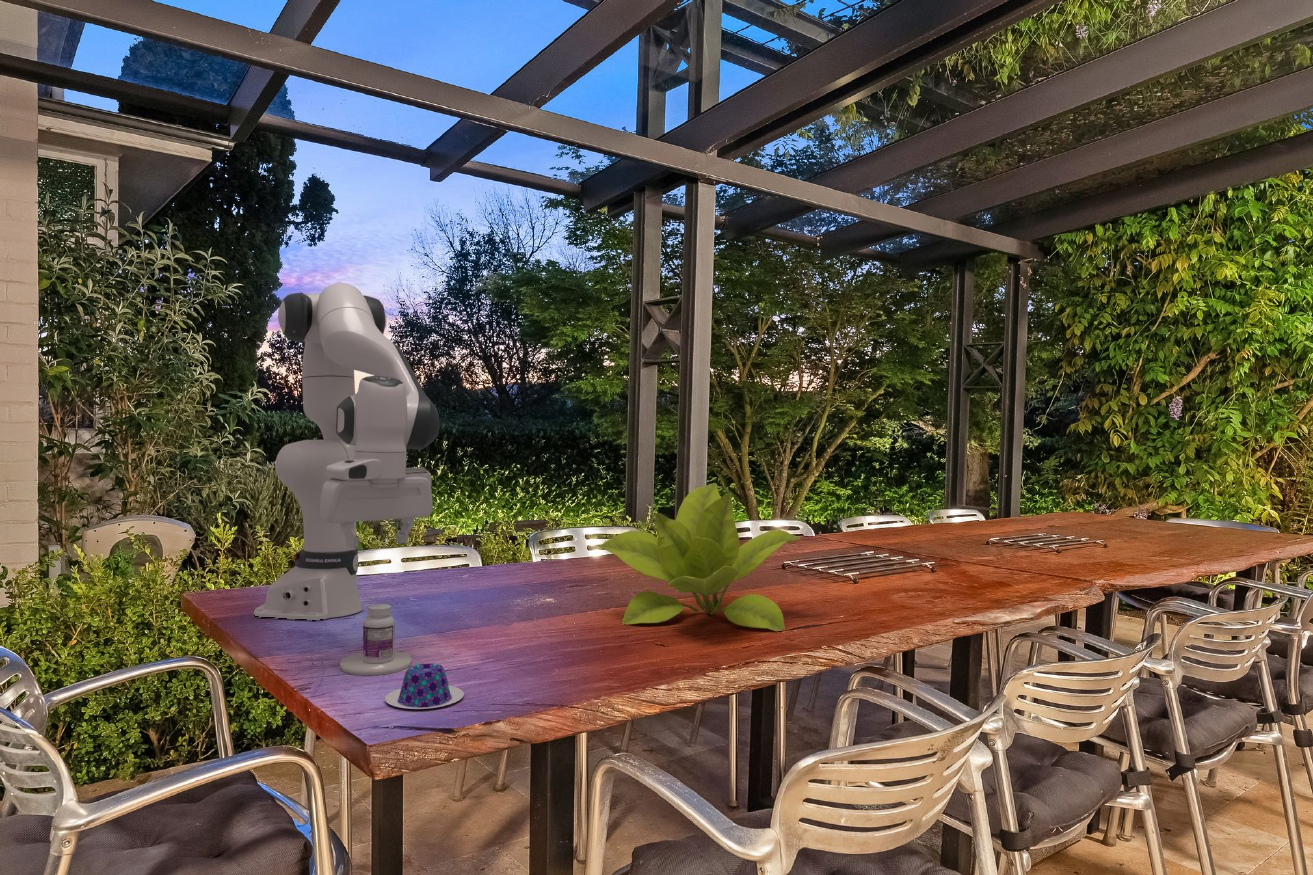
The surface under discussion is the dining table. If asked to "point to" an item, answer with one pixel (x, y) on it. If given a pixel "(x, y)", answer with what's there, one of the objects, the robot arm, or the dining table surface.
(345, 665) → the coaster
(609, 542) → the artificial plant
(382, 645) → the pill bottle
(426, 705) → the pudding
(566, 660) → the dining table surface
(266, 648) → the dining table surface
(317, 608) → the robot arm
